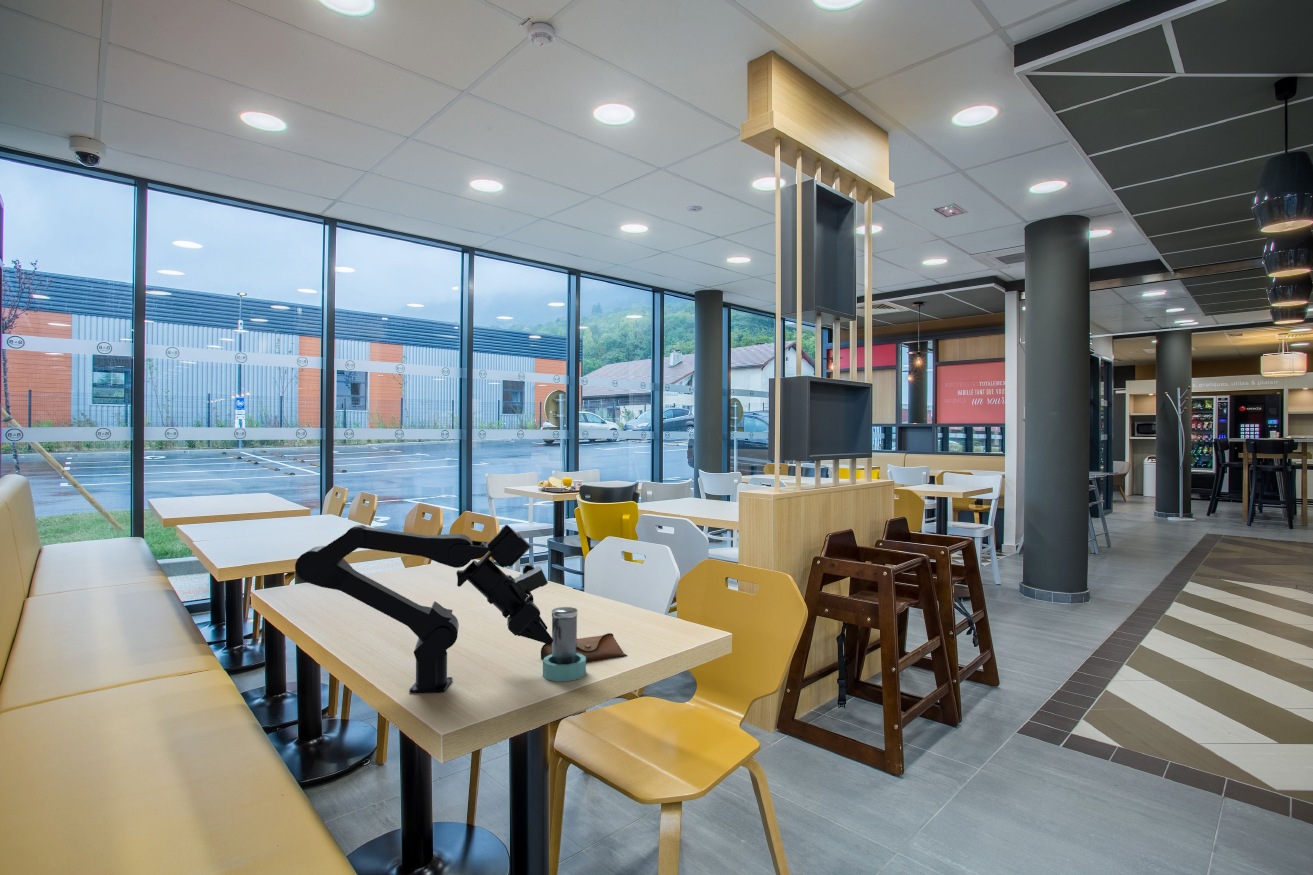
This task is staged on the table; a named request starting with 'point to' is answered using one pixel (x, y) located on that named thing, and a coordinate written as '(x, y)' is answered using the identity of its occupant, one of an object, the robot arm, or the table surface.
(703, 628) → the table surface
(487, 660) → the table surface
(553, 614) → the cylinder
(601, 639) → the sunglasses case
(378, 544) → the robot arm
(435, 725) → the table surface
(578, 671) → the ring
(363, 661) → the table surface
